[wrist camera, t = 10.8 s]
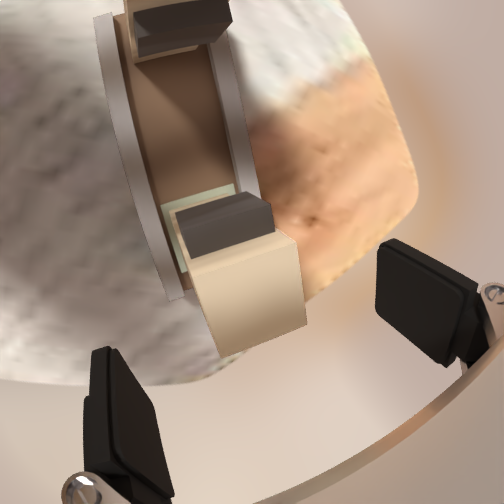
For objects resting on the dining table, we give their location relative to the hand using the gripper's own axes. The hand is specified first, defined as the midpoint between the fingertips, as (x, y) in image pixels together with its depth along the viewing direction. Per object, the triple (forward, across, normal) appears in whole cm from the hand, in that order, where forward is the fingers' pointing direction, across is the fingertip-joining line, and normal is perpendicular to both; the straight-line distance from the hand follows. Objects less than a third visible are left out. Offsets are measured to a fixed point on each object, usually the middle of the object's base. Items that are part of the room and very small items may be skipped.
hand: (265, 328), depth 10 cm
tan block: (+12, -1, +1) cm, 12 cm away
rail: (+15, -1, -5) cm, 16 cm away
